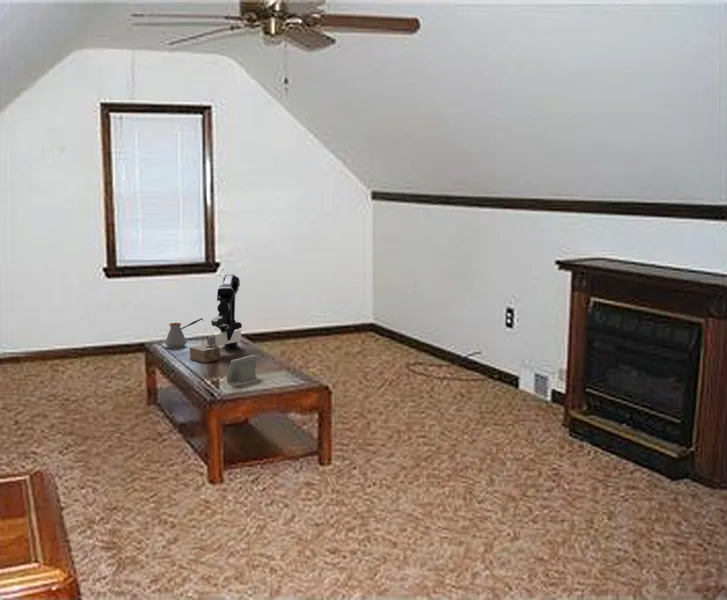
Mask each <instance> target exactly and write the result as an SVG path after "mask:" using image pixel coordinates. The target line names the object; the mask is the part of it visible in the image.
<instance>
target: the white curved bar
mask: <svg viewBox="0 0 727 600" xmlns="http://www.w3.org/2000/svg"><path fill="white" fill-rule="evenodd" d="M207 341H208V343H207V345H211V346H213V347H214V346H215V347H219V346H224V344H229V343H234V342H238V343H240V342H242V329H239V330H238V329H236V330H235V331H234V333H233V335H232V337H231V339H230V340H229V341H228V338H227V331H225V332H221V331H220V332H215V333H212V336H208V338H207Z"/></svg>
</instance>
